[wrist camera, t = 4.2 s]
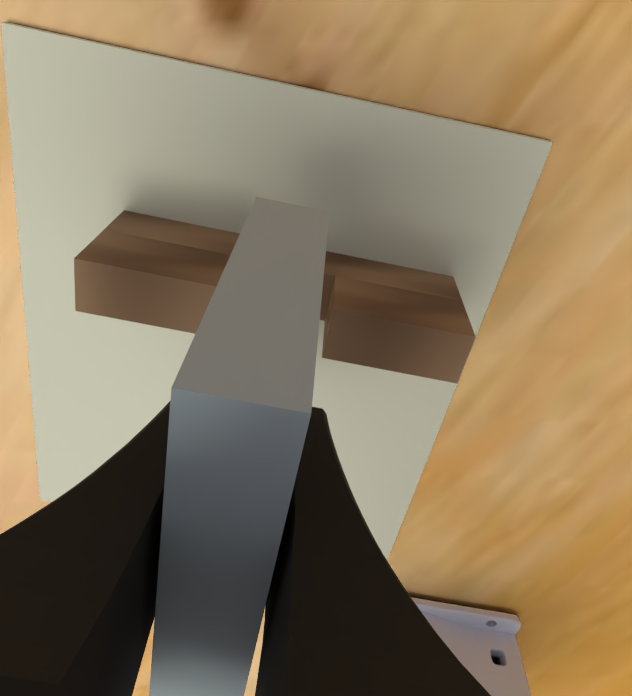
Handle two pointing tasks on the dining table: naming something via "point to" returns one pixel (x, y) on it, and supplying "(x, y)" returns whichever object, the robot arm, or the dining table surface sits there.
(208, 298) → the walnut slotted plate
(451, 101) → the dining table surface
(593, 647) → the dining table surface
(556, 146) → the dining table surface
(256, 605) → the grey flat block
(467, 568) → the dining table surface
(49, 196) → the felt mat
